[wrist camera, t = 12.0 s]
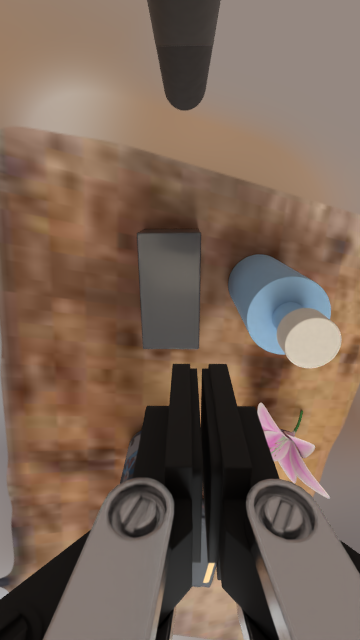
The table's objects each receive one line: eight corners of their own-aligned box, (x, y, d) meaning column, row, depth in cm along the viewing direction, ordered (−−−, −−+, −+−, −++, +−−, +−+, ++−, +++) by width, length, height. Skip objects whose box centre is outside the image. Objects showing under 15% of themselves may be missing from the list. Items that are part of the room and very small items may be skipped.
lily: (257, 363, 40) (234, 420, 33) (355, 398, 36) (352, 471, 29) (241, 417, 47) (220, 473, 40) (321, 450, 43) (313, 519, 37)
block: (143, 229, 33) (136, 232, 28) (198, 228, 33) (200, 232, 28) (148, 331, 37) (142, 349, 33) (197, 331, 37) (199, 349, 33)
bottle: (263, 250, 37) (424, 275, 24) (258, 303, 39) (401, 351, 26) (167, 259, 30) (323, 301, 17) (167, 323, 32) (305, 402, 19)
